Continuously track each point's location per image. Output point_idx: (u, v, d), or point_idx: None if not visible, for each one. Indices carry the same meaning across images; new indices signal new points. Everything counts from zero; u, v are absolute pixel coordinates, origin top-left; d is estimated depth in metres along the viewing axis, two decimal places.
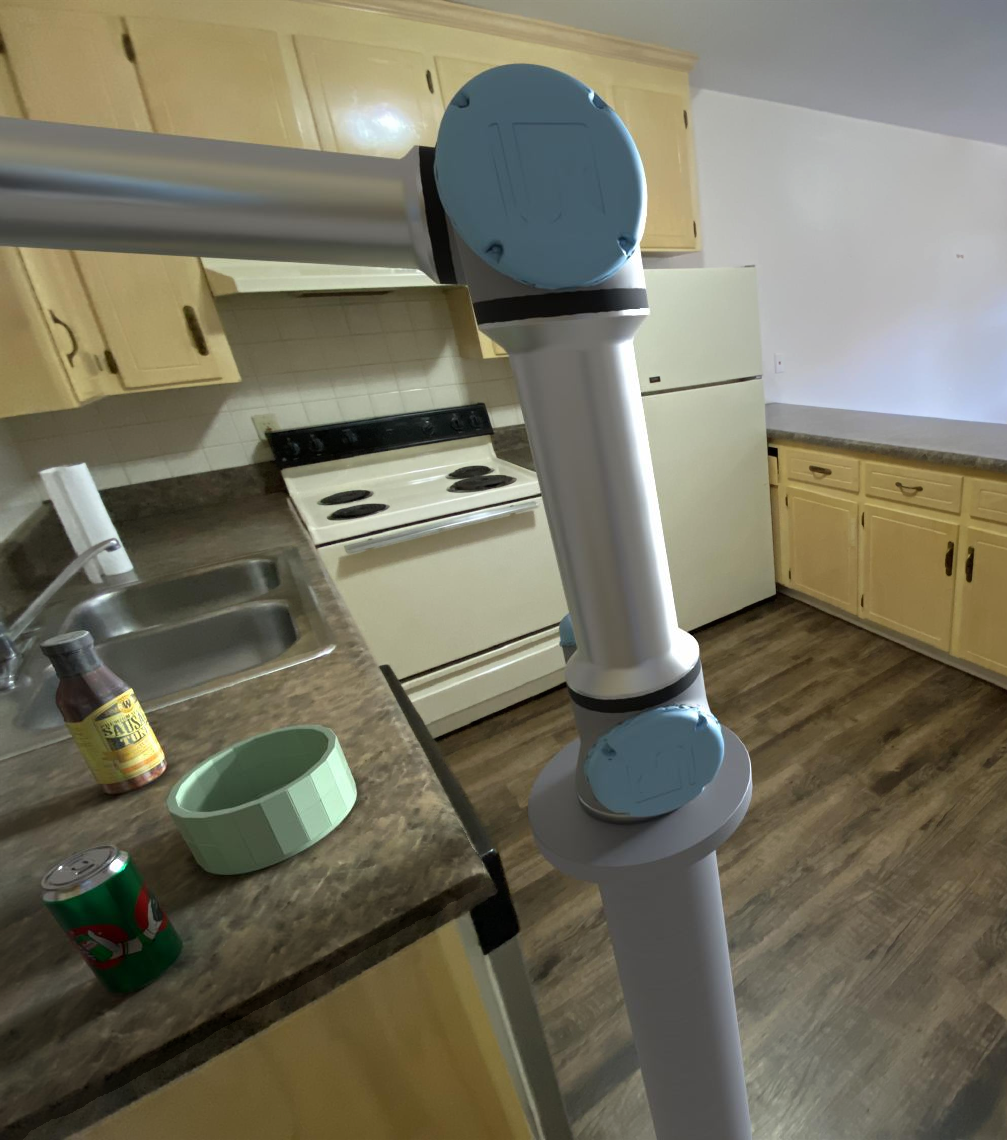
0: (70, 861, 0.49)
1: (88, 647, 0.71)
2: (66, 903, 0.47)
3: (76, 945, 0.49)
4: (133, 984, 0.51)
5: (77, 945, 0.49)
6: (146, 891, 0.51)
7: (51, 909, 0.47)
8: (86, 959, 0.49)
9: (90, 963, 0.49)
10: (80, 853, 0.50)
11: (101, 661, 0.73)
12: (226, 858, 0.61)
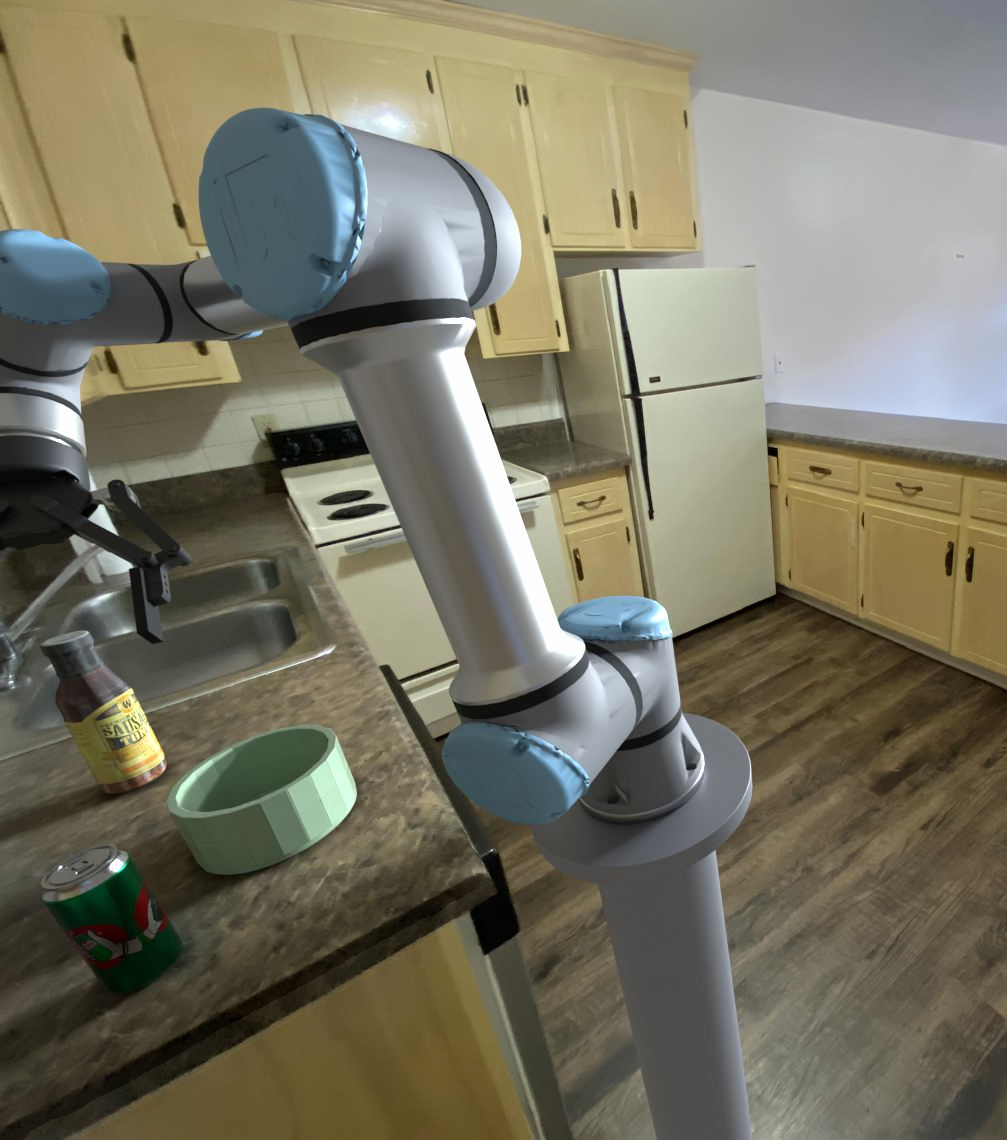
0: (70, 861, 0.49)
1: (88, 647, 0.71)
2: (66, 903, 0.47)
3: (76, 945, 0.49)
4: (133, 984, 0.51)
5: (77, 945, 0.49)
6: (146, 891, 0.51)
7: (51, 909, 0.47)
8: (86, 959, 0.49)
9: (90, 963, 0.49)
10: (80, 853, 0.50)
11: (101, 661, 0.73)
12: (226, 858, 0.61)
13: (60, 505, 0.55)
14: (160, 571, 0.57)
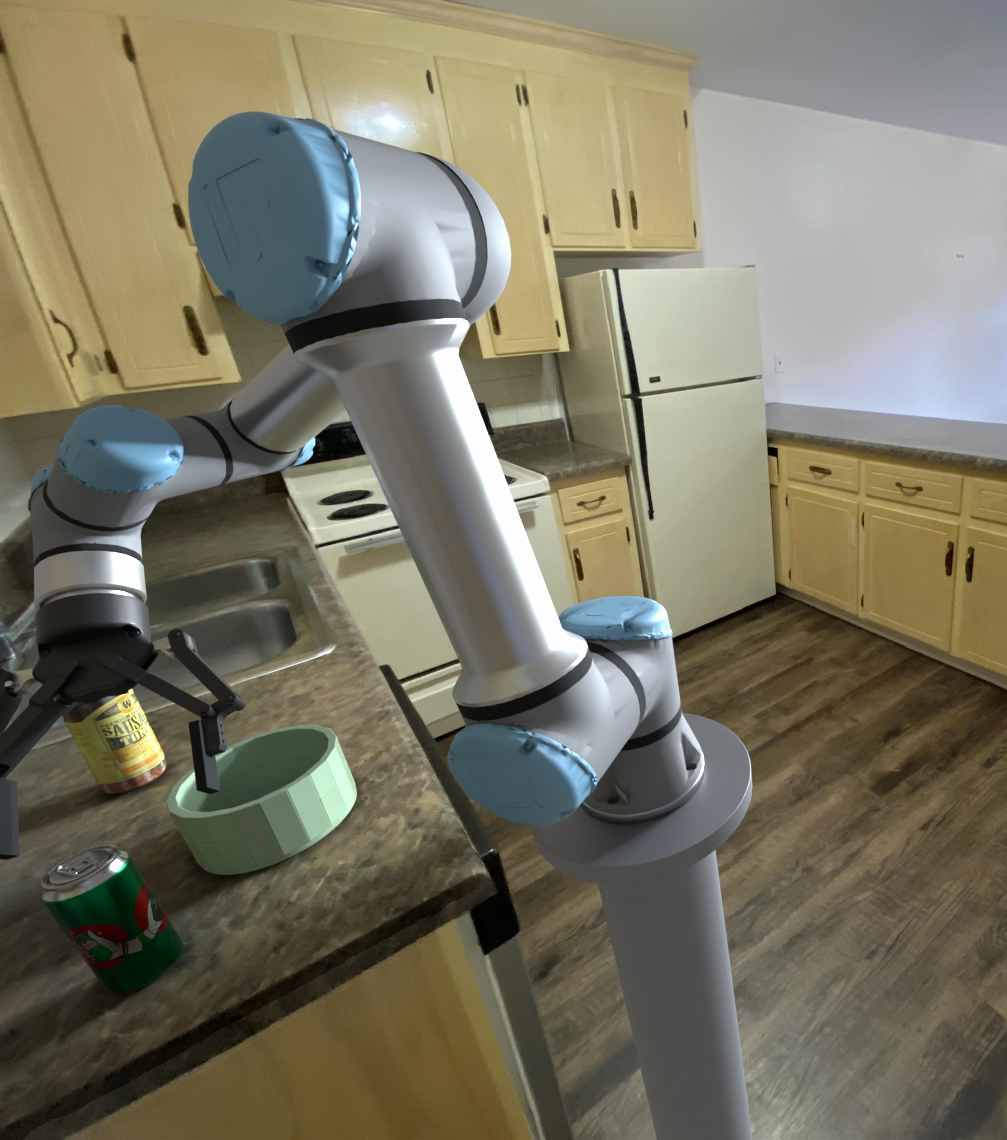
0: (70, 861, 0.49)
1: None
2: (66, 903, 0.47)
3: (76, 945, 0.49)
4: (133, 984, 0.51)
5: (77, 945, 0.49)
6: (146, 891, 0.51)
7: (51, 909, 0.47)
8: (86, 959, 0.49)
9: (90, 963, 0.49)
10: (80, 853, 0.50)
11: None
12: (226, 858, 0.61)
13: (125, 661, 0.58)
14: (217, 722, 0.59)
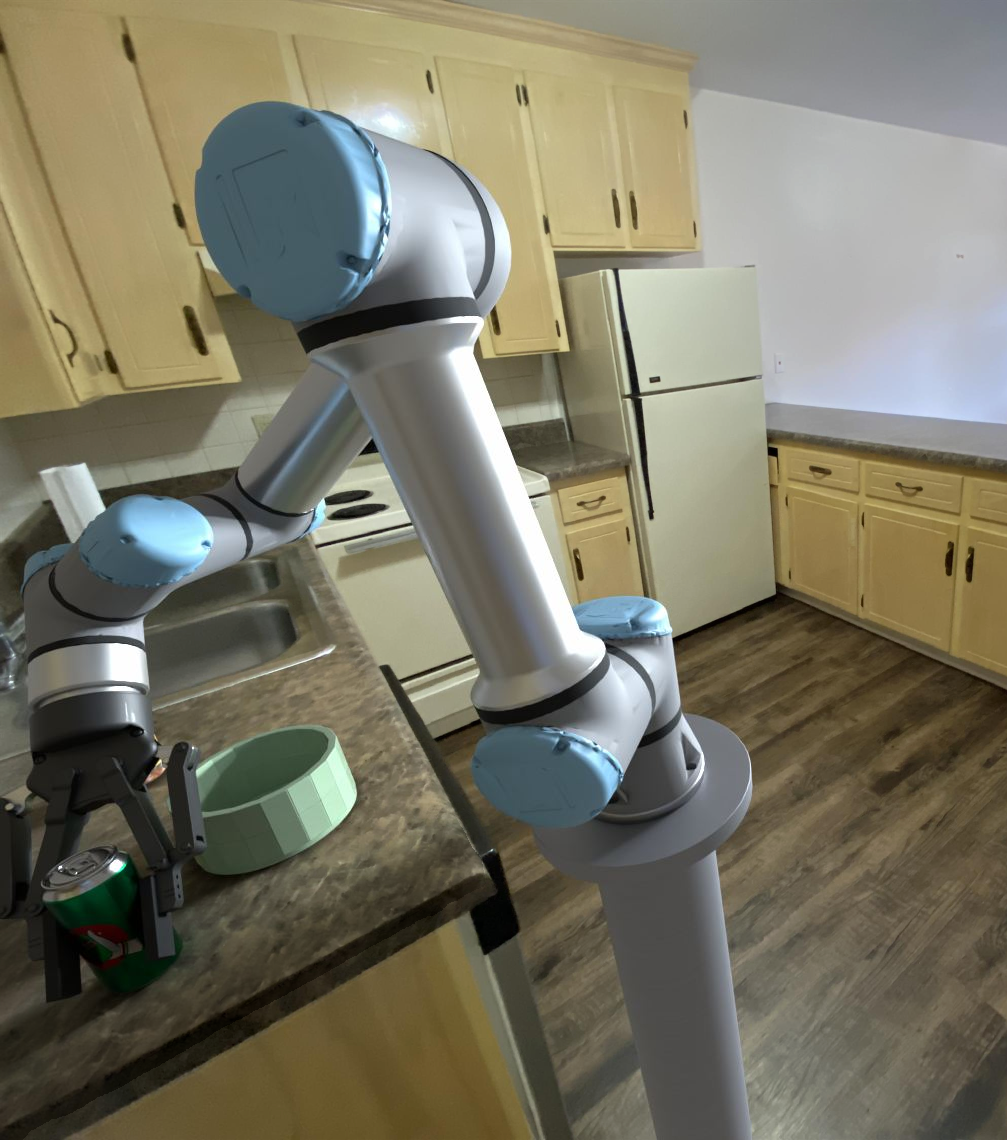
0: (70, 861, 0.49)
1: None
2: (66, 903, 0.47)
3: (76, 945, 0.49)
4: (134, 984, 0.51)
5: (77, 945, 0.49)
6: None
7: (51, 909, 0.47)
8: (86, 959, 0.49)
9: (90, 963, 0.49)
10: (80, 853, 0.50)
11: None
12: (226, 858, 0.61)
13: (120, 774, 0.53)
14: (172, 874, 0.52)
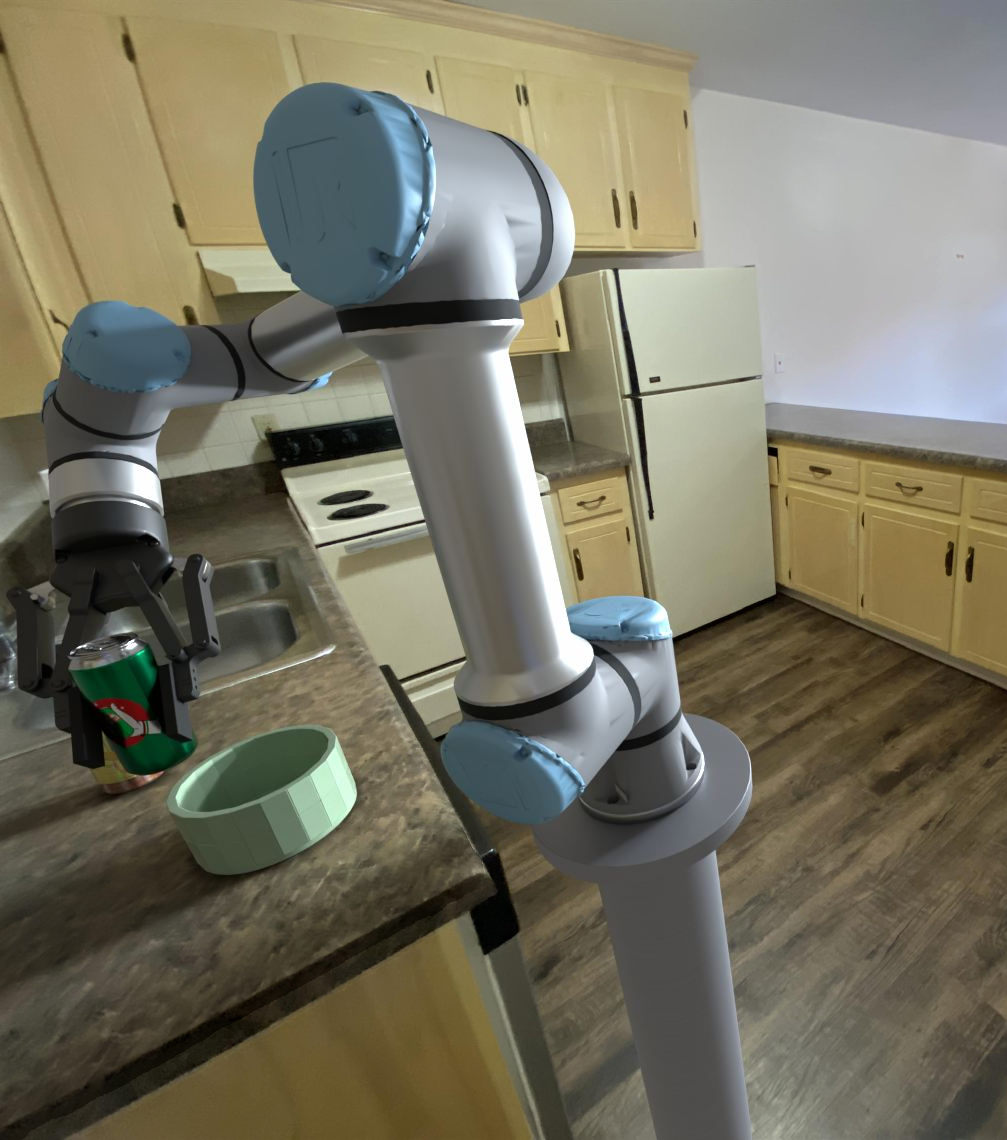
0: (93, 643, 0.52)
1: None
2: (91, 672, 0.50)
3: (99, 719, 0.52)
4: (153, 765, 0.54)
5: (101, 719, 0.51)
6: None
7: (76, 679, 0.50)
8: (109, 735, 0.52)
9: (112, 740, 0.52)
10: (102, 638, 0.53)
11: None
12: (226, 858, 0.61)
13: (138, 575, 0.56)
14: (189, 666, 0.55)
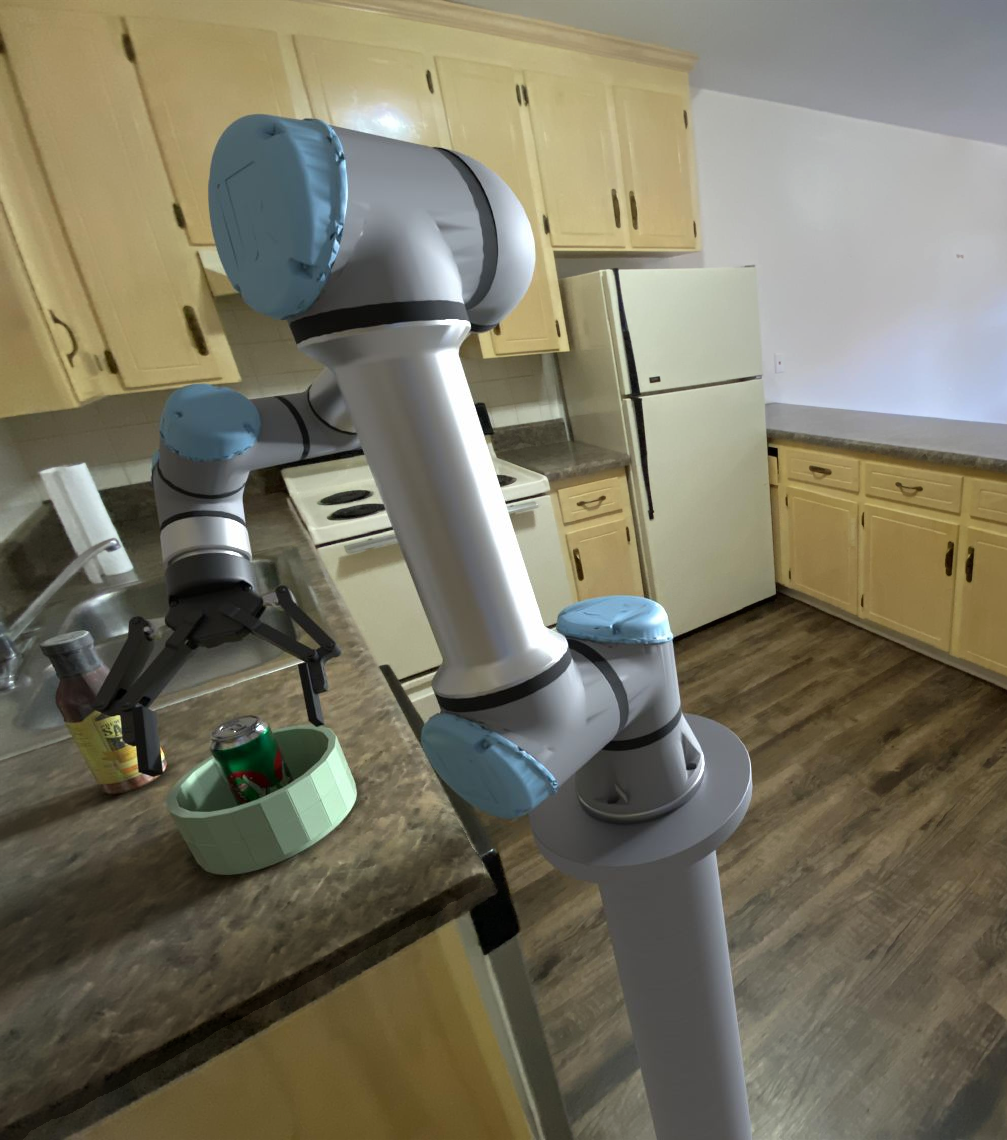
0: (226, 725, 0.65)
1: (88, 647, 0.71)
2: (230, 751, 0.63)
3: (233, 787, 0.64)
4: None
5: (234, 787, 0.64)
6: (280, 752, 0.67)
7: (218, 756, 0.63)
8: (239, 799, 0.65)
9: (242, 803, 0.65)
10: (232, 720, 0.66)
11: (101, 661, 0.73)
12: (226, 858, 0.61)
13: (241, 611, 0.67)
14: (320, 665, 0.68)
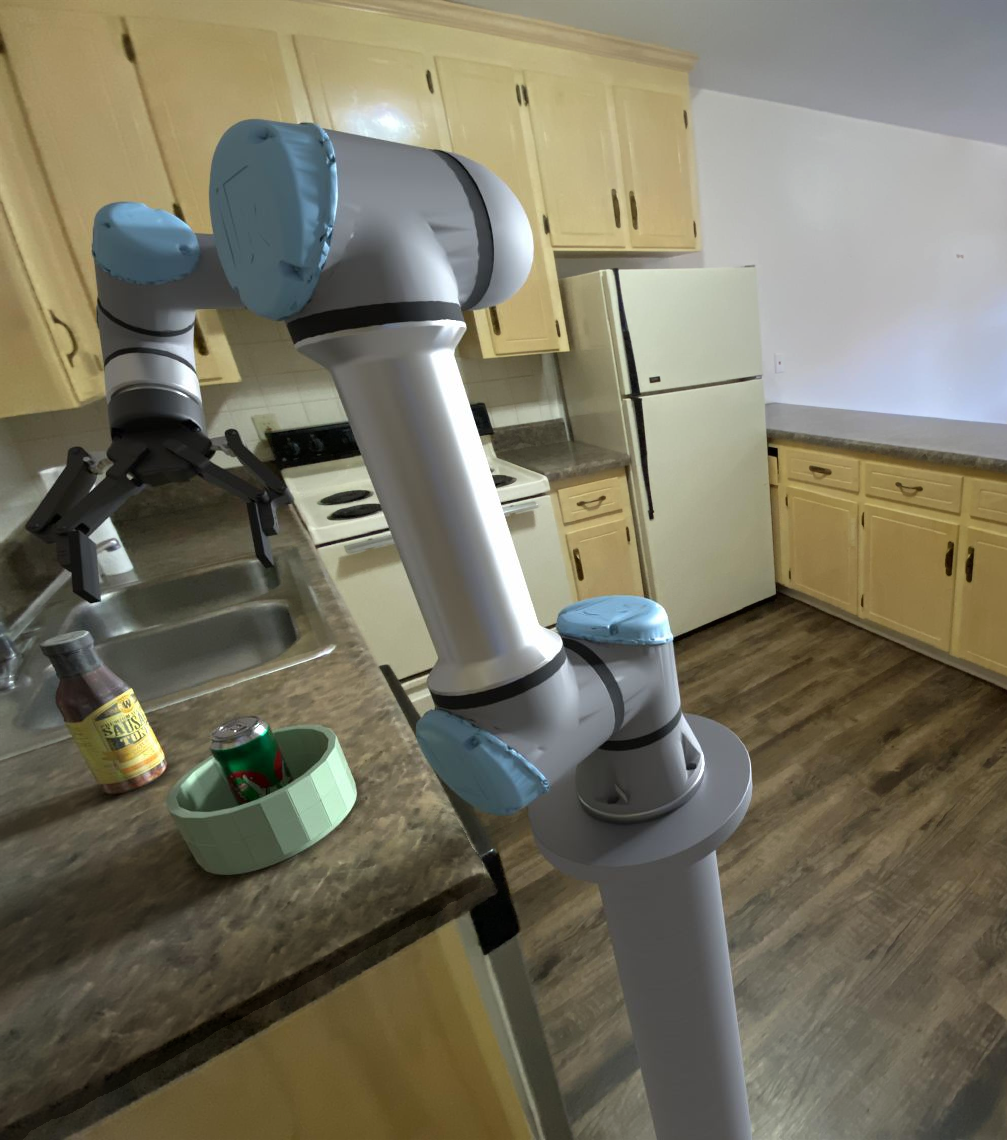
0: (226, 725, 0.65)
1: (88, 647, 0.71)
2: (230, 751, 0.63)
3: (233, 787, 0.64)
4: None
5: (234, 787, 0.64)
6: (280, 752, 0.67)
7: (218, 756, 0.63)
8: (239, 799, 0.65)
9: (242, 803, 0.65)
10: (232, 720, 0.66)
11: (101, 661, 0.73)
12: (226, 858, 0.61)
13: (188, 448, 0.65)
14: (271, 506, 0.66)
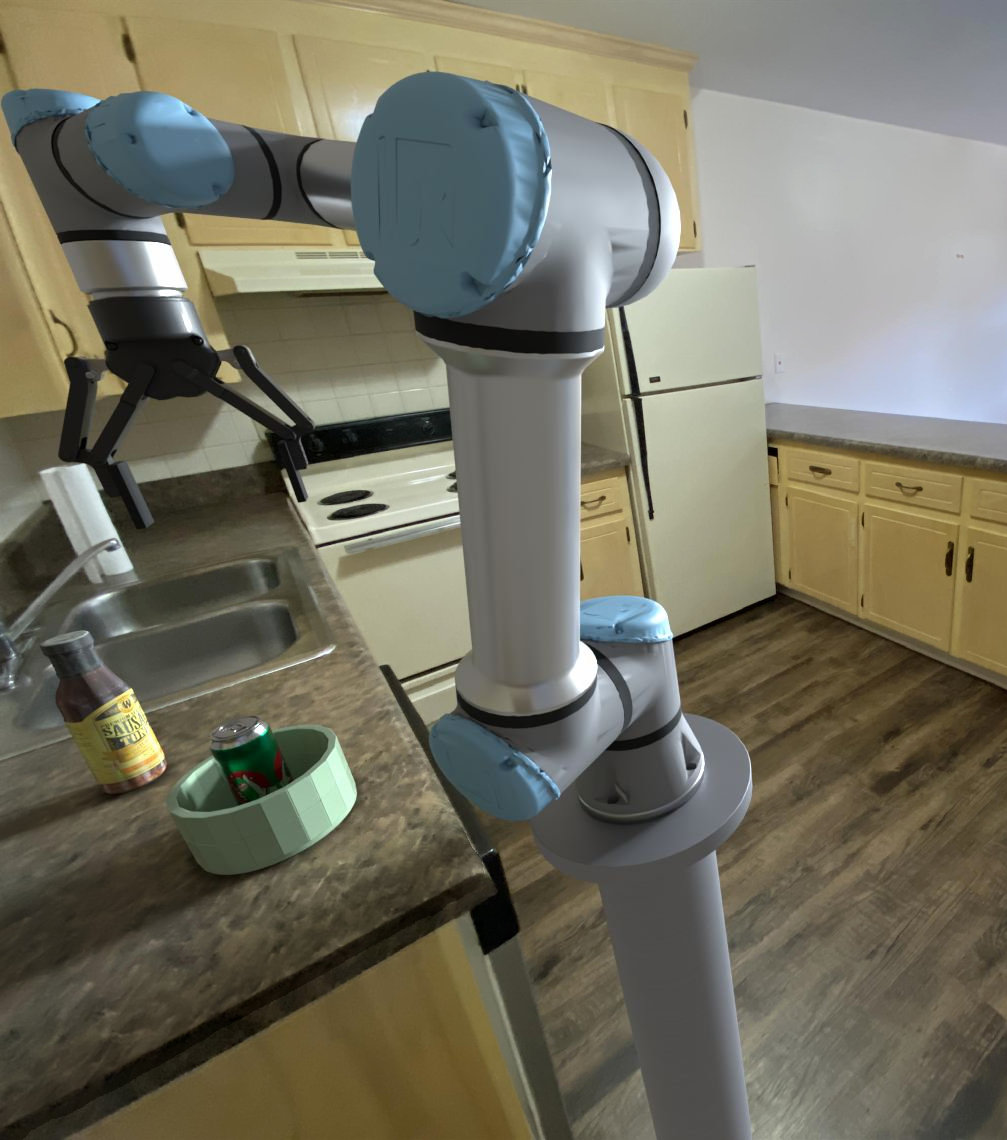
0: (226, 725, 0.65)
1: (88, 647, 0.71)
2: (230, 751, 0.63)
3: (233, 787, 0.64)
4: None
5: (234, 787, 0.64)
6: (280, 752, 0.67)
7: (218, 756, 0.63)
8: (239, 799, 0.65)
9: (242, 803, 0.65)
10: (232, 720, 0.66)
11: (101, 661, 0.73)
12: (226, 858, 0.61)
13: (200, 374, 0.61)
14: (299, 444, 0.67)
